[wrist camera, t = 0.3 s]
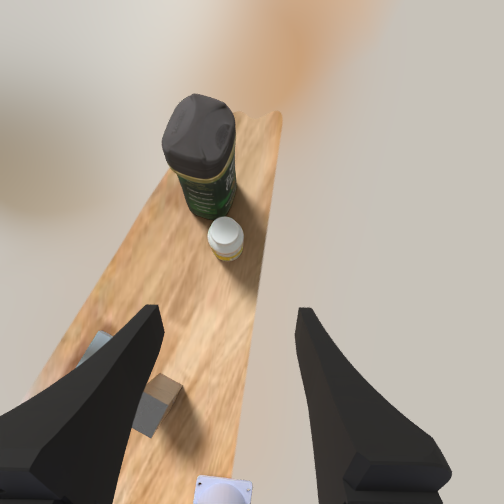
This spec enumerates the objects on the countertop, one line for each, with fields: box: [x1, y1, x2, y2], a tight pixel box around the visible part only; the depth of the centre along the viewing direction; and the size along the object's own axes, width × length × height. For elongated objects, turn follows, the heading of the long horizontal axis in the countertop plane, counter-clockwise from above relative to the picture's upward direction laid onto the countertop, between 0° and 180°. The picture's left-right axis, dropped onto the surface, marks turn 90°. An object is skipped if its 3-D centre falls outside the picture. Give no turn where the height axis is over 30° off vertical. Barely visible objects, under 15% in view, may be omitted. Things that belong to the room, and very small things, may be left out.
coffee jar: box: [162, 94, 236, 220], centre depth 37 cm, size 10×8×19 cm
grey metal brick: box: [132, 373, 183, 438], centre depth 35 cm, size 4×4×8 cm
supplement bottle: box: [208, 217, 244, 261], centre depth 39 cm, size 5×5×10 cm
